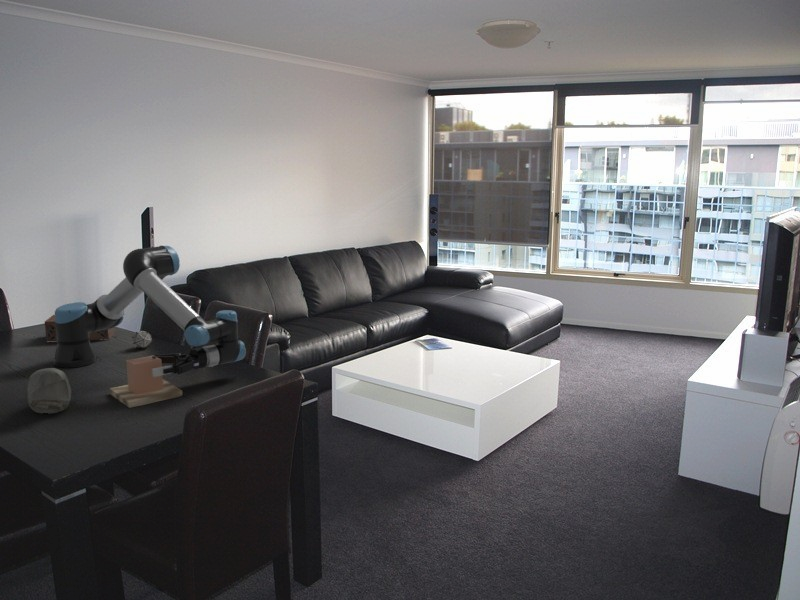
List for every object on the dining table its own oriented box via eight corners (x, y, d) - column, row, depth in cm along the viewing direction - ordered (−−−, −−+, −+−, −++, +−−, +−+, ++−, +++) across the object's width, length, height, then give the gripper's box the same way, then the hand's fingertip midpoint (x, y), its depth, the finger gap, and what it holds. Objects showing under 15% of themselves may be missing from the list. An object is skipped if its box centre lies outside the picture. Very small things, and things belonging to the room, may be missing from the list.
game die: (148, 356, 286) (161, 338, 284) (132, 353, 278) (145, 335, 277) (140, 342, 290) (152, 325, 288) (123, 340, 283) (136, 322, 281)
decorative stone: (72, 398, 222) (68, 355, 219) (72, 415, 206) (67, 369, 203) (32, 403, 216) (27, 359, 213) (28, 421, 201) (23, 374, 198)
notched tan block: (128, 389, 224) (126, 358, 222) (155, 384, 230) (153, 353, 228) (135, 394, 219) (133, 362, 217) (163, 388, 226) (161, 357, 223)
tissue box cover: (46, 343, 291) (44, 321, 289) (55, 335, 305) (53, 314, 303) (108, 340, 297) (107, 319, 295) (114, 333, 311) (113, 312, 309)
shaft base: (110, 393, 226) (107, 367, 224) (161, 383, 238) (159, 357, 236) (129, 408, 213) (127, 380, 211) (182, 395, 225) (180, 369, 223)
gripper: (220, 375, 229) (160, 387, 215) (189, 359, 247) (132, 370, 233) (219, 354, 227) (158, 365, 213) (188, 340, 245) (131, 350, 232)
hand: (144, 368), depth 223 cm, fingers open, 13 cm apart
